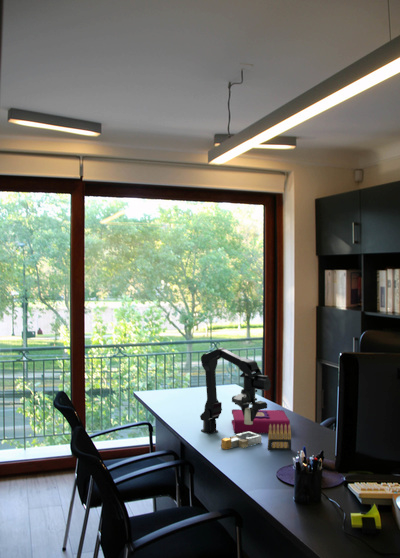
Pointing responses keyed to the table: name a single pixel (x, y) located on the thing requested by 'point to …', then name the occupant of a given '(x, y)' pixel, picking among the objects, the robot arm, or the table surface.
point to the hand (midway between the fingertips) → (248, 420)
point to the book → (260, 421)
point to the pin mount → (241, 442)
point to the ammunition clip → (279, 438)
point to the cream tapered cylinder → (247, 417)
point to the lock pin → (229, 443)
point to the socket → (250, 438)
